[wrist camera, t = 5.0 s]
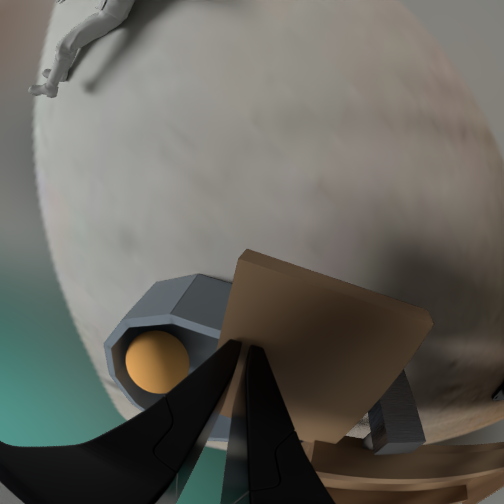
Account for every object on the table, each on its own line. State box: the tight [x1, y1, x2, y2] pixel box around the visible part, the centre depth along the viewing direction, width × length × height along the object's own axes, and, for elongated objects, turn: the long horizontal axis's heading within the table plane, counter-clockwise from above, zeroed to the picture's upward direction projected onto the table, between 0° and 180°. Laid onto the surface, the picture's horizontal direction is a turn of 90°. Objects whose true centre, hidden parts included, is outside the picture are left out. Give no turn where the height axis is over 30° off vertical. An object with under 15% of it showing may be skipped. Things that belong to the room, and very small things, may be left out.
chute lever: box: [216, 249, 504, 504], centre depth 8 cm, size 22×14×3 cm, turn 76°
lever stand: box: [300, 369, 426, 455], centre depth 13 cm, size 5×13×8 cm, turn 166°
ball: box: [126, 330, 190, 394], centre depth 15 cm, size 4×4×4 cm
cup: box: [104, 274, 232, 442], centre depth 15 cm, size 11×11×4 cm
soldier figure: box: [28, 0, 135, 98], centre depth 8 cm, size 8×5×12 cm
